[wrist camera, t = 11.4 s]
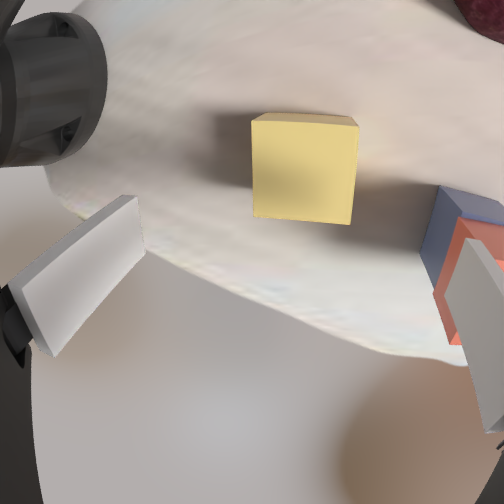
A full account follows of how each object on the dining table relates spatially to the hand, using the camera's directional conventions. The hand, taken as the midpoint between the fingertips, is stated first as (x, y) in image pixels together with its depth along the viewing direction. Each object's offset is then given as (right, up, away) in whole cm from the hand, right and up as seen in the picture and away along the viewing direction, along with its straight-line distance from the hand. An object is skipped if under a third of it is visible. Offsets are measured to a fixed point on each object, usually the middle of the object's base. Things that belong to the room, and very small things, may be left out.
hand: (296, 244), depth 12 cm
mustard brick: (+2, +7, +10) cm, 13 cm away
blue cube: (+15, +2, +10) cm, 18 cm away
